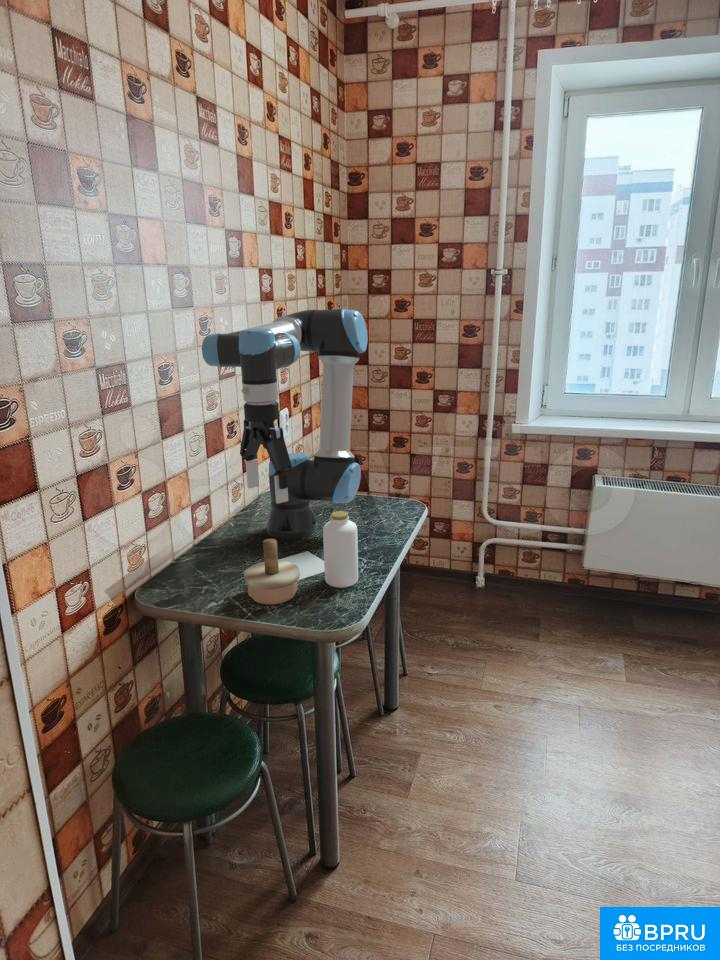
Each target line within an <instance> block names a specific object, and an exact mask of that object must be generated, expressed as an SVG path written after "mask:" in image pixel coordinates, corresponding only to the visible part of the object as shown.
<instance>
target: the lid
mask: <svg viewBox="0 0 720 960" xmlns="http://www.w3.org/2000/svg"><path fill="white" fill-rule="evenodd" d="M262 546H263V561H262V562H257V563H255V564H253V565H250V566H249V567H248V568H246V570H244V572H243V579H244V583H245V584H246V585H247V586H248V585H249V586H251V587H254V588H258V589H277V588H282V587H286V586H289V585H291V584H293V583H295V582H296V581H297V582H298V581H299V580H298V579H299V577H300V570H299V567H298V566H297V565H295V564H293V563H290V562H286V561H278V560H279V555H278V554H279V553H278V539H277V538H267V539H264V540H263V541H262Z"/></svg>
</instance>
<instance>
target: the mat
mask: <svg viewBox="0 0 720 960" xmlns="http://www.w3.org/2000/svg"><path fill="white" fill-rule="evenodd" d="M278 561H286V562H290V563H293V564H295V565H297V566H298V567H299V570H300V577H299V579H298V580H297V581H300V580H301V581H302V580H303V579H307V578H310V577H312V576H317V575H319V574H322V573H325V569H324V559H322V558H320V557H318V556H317V555H315V554H313V553H311V552H310V551H308V550H306V551H303V552H299V553H296V554H292V555H289V556H286V557H283V558H278Z"/></svg>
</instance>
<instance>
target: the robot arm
mask: <svg viewBox="0 0 720 960" xmlns="http://www.w3.org/2000/svg"><path fill="white" fill-rule="evenodd" d="M368 341H369V339H368V329H367V324H366V322H365V319H364V317H363V315H362V313H361V312H360V311H358V310H356V309H345V308H341V309H306V310H301V311H297V312H294V313H290V314H287V315H283V316H280V317H277V318H275V319H274V320H273V322H270V323H266V324H261V325H258V326H253V327H249V328H244V329H241V330H237V331H233V332H228V333H218V332H217V333H211V334H210V333H209V334H206V336H205V337H204V338H203V340H202V343H201V355H202V358H203V360H204V362H205V363H206V364H207V365H208V366H211V367H219V368H222V367H224V368H240V373H241V383H242V384H241V386H242V388H241V393H242V397H243V401H244V402H245V403H244V404H243V414H244V415H243V416H244V419H243V432H242V438H241V442H240V443H241V444H240V449H239V450H240V451H239V455H240V457H243V459H244V461H245V468H246V469H245V471H246V473H245V474H246V482H247V483H246V486H247V489H253V488H259V487H260V476H259V463H258V461H259V460H258V459H257V458H258V452H259V449H260V447H261V445H262V448H263V449H265V450H266V451H267V455H268V457H269V458H270V461H269V462H268V475H267V476H268V481H269V498H270V510H269V514H268V518H267V521H266V526H265V527H266V534H267V535H268V536H269V537H271V538H272V539H281V540H297V539H302V538H307V537H310V536H312V535H313V534H316V532H317V530H318V521H317V517H316V516H315V514H314V511H313V508H312V506H311V501H315V502H326V503H327V502H328V503H333V504H348V503H350V502H352V501H353V499H355V497H356V495H357V494H358V490H359V487H360V483H361V479H362V478H361V477H362V471H361V466H360V464H359V463H357V462H355V457H356V456H355V455H354V454H353V452H352V451H351V449H350V448H351V429H352V427H351V426H352V409H353V408H352V405H353V387H354V370H355V369H354V368H355V367H354V366H355V365H356V364H357V363H358V362H359V360H360V354H363V353H365V352H366V350H367V347H368ZM301 352H309V353H310V352H314V353H317V354H318V355H317V358H318V359H319V360H320V362H321V363H322V364H323V365H322V386H321V408H320V409H321V410H320V412H321V413H320V434H319V449H318V450H317V451H316V452H315V453H314V454H313V460H312V459H309V458H310V456H309V454H308V453H305V452H291V453H289V452H288V447H287V445H286V441H285V437H284V429H283V427H275V422H276V420H278V419H279V418H280V406H279V405H280V404H279V402H278V399H279V393H278V392H279V389H278V387H279V386H278V378H277V377H278V376H277V374H278V373H277V370H279V369H282V368H283V369H284V368H288V367H289V366H291V365H293V364H294V363H296V362H297V361H298V360H299V358H300V356H301Z"/></svg>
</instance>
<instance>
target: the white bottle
mask: <svg viewBox="0 0 720 960" xmlns="http://www.w3.org/2000/svg"><path fill="white" fill-rule="evenodd" d="M322 536H323V537H322V538H323V540H322V541H323V542H322V543H323V561H324V569H325V572H324V580H325V582H326V584H327V585H328V586H330V587H333V588H340V589H341V588H343V589H344V588H349V587H352V586H353V585H355V584H356V583H357V582H358V581H359V550H358V549H359V545H358V544H359V543H358V541H359V539H358V527H357V524H356V523H355V522H354V521H352V520H350V516H349V513H348V512H347V511H344V510H339V511H333V512H332V513H331V514H330V520H329V521H328V522H326V523H325V524H323V529H322Z"/></svg>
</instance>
